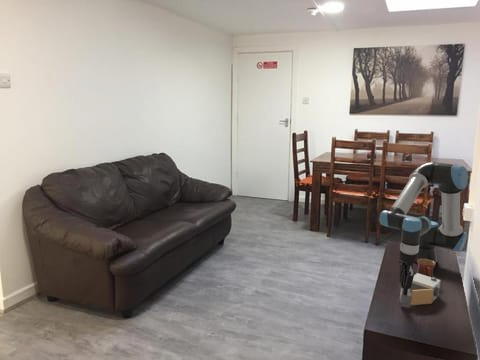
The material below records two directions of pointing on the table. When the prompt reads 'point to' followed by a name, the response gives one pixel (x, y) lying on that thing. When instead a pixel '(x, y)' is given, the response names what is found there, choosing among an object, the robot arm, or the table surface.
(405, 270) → the robot arm
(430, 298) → the door
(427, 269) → the mug
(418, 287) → the housing
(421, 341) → the table surface
